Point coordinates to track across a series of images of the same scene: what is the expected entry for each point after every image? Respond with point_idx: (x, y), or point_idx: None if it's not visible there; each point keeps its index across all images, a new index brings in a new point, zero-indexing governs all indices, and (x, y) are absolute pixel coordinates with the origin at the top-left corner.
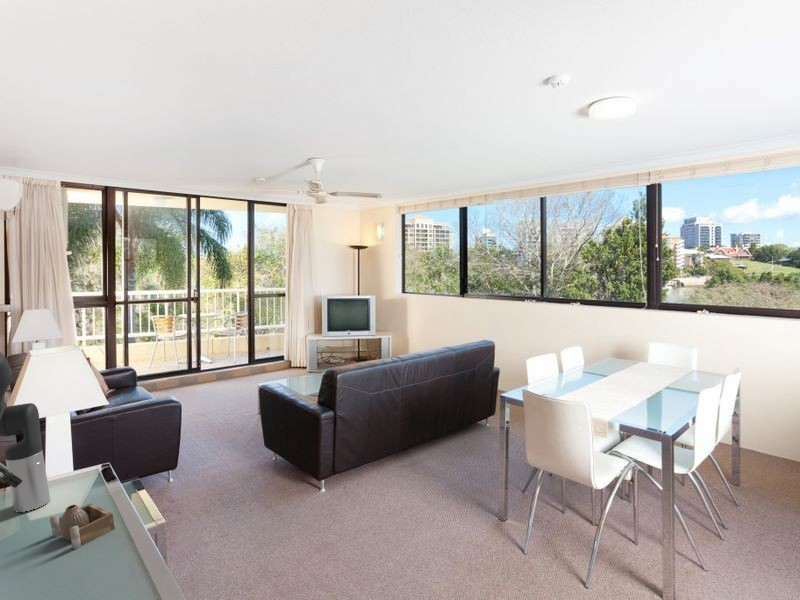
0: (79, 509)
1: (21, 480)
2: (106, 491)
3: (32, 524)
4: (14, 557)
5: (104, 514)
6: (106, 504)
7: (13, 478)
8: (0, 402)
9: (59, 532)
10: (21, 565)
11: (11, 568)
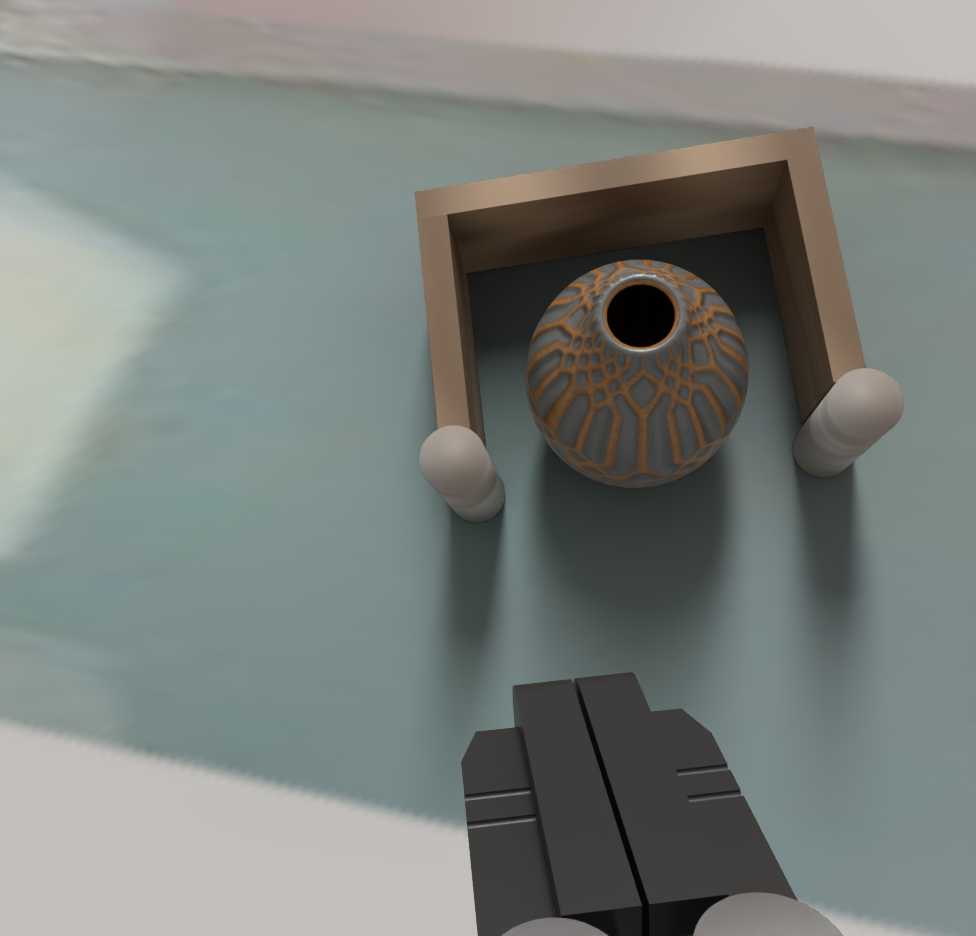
0: (673, 279)
1: (630, 683)
2: (95, 78)
3: (100, 568)
4: None
5: (736, 173)
6: (317, 134)
7: (763, 865)
8: None
9: (499, 476)
10: None
11: None
